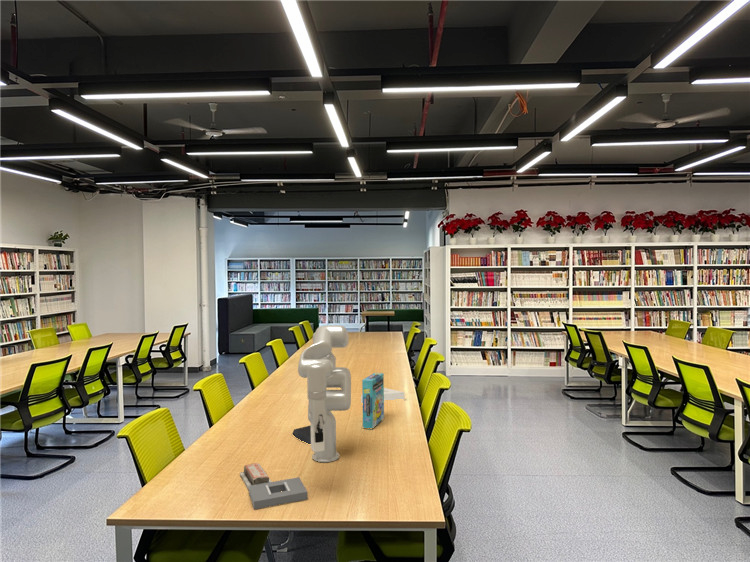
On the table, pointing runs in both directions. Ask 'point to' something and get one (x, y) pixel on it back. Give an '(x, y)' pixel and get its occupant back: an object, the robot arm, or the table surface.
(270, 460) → the table surface
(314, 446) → the charger plug
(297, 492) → the plate
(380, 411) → the game box
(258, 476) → the packaged product
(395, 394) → the triangle block
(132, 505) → the table surface
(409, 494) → the table surface
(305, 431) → the black angular slab
